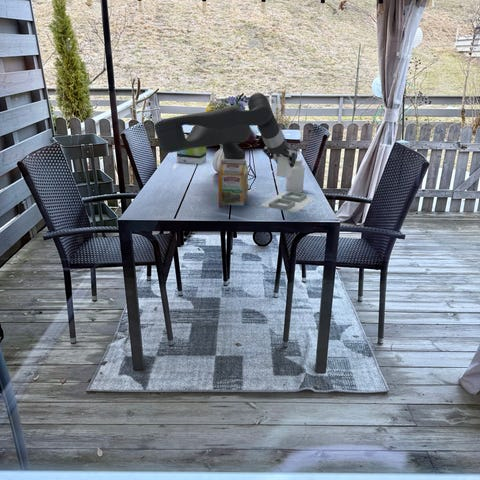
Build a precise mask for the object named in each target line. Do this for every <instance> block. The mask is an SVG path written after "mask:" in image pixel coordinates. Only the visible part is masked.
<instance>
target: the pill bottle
mask: <svg viewBox="0 0 480 480" xmlns="http://www.w3.org/2000/svg"><path fill="white" fill-rule="evenodd" d="M304 179H305V166H304V165H303V159H302V158H300V157H299V158H298V157H297V159H296V161H295V164H294V167H293V168H292V175H291V176H289V177H287V178H286V181H285V183H286V184H285V191H286V192H289V191H292V192H298V193H303V190H304Z"/></svg>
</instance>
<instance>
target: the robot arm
mask: <svg viewBox="0 0 480 480" xmlns="http://www.w3.org/2000/svg"><path fill="white" fill-rule="evenodd" d="M247 107H248V110H247V109H244V110H243V109H242V108H241V105H239V104H232V105H227V106H225V107H222V108H217V109H213V110H209V111H204V112H197V113H190V114H184V115H177V116H173V117H168V118H163V119H161V120H158V121H157V122H156V123H155V124H154V127H153V128H154V132H155V135H156V138H157V141H158V144H159V148H160V150H161V152H163V153H165V154H171V153H177V151H182V150H186V149H190V148H197V147H206V148H207V147H213V146H218V145H222V152H223V159H232V160H246V152H245V150H244V149H242V148H241V147H239V146H238V145H237V143H240V144H241V143H245V142H246V141H247V140H248V139H249V137H250V135H251V132H252V131H251V130H252V129H251V127H250V126H254V127H255V126H257V130H258V131H259V133H260V136H261V137H262V141H263V142H264V144H265V145H264V148H263V150H262V151H263V153H264V154H265V156H266V157H267V158H269V160H273V161H275V163H276V164H277V159H278V157H283V158H284V159H285V160H287V161H288V162H289V165H290V167H292V168H293V167H294V164H295V161H296V159H297V158H298V149H296V148H293V149H290V147H289V146H288V142H287V139H286V137H285V134H284V132H283V130H282V129H281V127H280V125H279V123H278V121H277V119H276V117H275V115H274V113H273V110H272V107H271V104H270V100H269V98H268V97H267V95H265V94H263V93H262V92H255V93H253V94H251V96H250V97H249V98H248V101H247ZM187 125H194V126H193V128H192V129H191V131H190V132H189V133H188V134H187V135H188V137H187V138H185V135H186V134H185V131H184V128H183V126H187ZM289 157H290V159H289Z"/></svg>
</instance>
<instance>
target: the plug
mask: <svg viewBox="0 0 480 480" xmlns="http://www.w3.org/2000/svg"><path fill="white" fill-rule="evenodd" d="M289 159H290V157H289ZM291 175H292V167H290V165H289V162H288V161H287V160H285V159H284V158H283V157H278V159H277V163H276V175H275V176H276V177H280V178H285V179H287V177H289V176H291Z"/></svg>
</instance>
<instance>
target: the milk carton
mask: <svg viewBox="0 0 480 480" xmlns="http://www.w3.org/2000/svg"><path fill="white" fill-rule="evenodd" d="M217 177H218V207H219V208H223V207H225V206H239V207H240V206H243V207H244V206H245V204H246V202H247V199H248V191H249V190H248V186H249V185H248V184H249V183H248V182H249V181H248V180H249V179H248V178H249V168H248V164H247V160H246V159H245V160H232V159H224V158H221V159H220V164H219V169H218V176H217Z"/></svg>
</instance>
